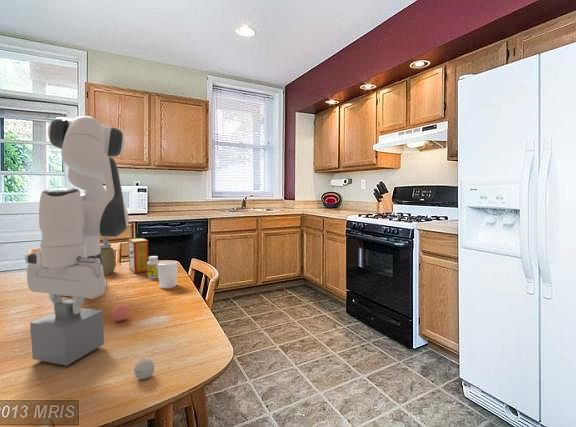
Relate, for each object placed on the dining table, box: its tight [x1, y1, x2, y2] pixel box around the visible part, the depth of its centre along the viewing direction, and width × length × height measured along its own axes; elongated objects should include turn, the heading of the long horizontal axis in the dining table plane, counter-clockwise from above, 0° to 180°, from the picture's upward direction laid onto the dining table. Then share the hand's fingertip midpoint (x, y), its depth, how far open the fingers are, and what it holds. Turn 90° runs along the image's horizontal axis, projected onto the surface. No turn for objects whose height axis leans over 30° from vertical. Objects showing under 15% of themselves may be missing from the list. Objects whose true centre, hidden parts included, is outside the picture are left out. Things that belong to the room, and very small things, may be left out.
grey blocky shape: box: [29, 298, 105, 366], centre depth 76 cm, size 10×10×12 cm
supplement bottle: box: [146, 255, 160, 279], centre depth 145 cm, size 5×5×10 cm
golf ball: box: [133, 358, 155, 380], centre depth 67 cm, size 4×4×4 cm
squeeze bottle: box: [100, 236, 117, 275], centre depth 151 cm, size 8×8×18 cm
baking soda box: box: [128, 238, 150, 275], centre depth 156 cm, size 10×6×16 cm
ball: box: [110, 304, 131, 322], centre depth 96 cm, size 5×5×5 cm
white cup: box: [157, 260, 178, 289], centre depth 131 cm, size 8×8×10 cm
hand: (67, 311), depth 76 cm, fingers closed on grey blocky shape, 3 cm apart
